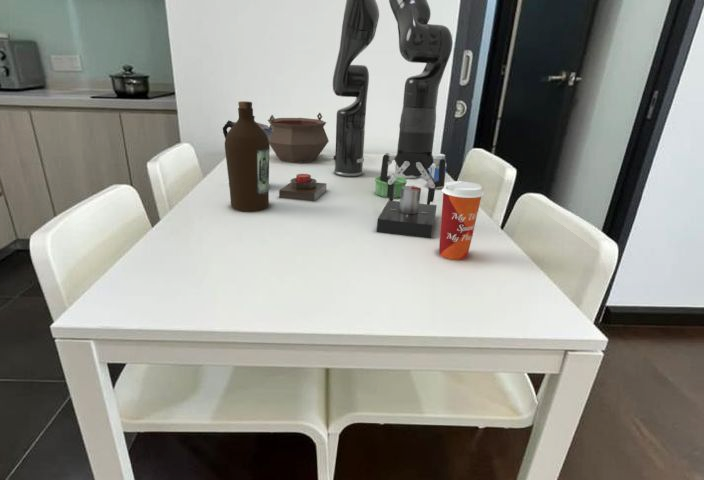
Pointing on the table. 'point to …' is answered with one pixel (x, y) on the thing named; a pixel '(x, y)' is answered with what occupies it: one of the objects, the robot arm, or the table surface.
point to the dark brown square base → (303, 190)
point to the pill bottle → (436, 170)
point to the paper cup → (458, 218)
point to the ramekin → (383, 186)
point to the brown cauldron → (297, 138)
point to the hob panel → (407, 220)
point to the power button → (303, 178)
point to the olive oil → (247, 162)
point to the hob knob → (410, 199)
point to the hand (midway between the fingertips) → (409, 201)
